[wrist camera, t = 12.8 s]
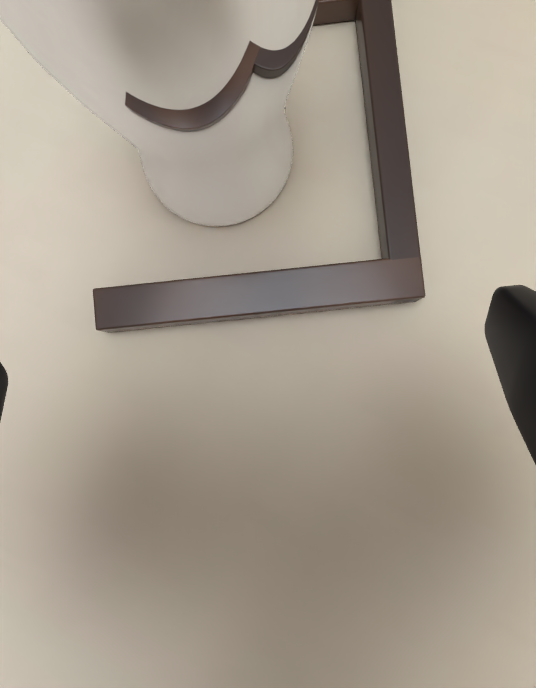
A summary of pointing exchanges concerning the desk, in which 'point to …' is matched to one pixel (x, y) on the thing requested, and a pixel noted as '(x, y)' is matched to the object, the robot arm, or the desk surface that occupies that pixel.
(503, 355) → the robot arm
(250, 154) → the beer glass
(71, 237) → the desk surface
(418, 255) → the frame
